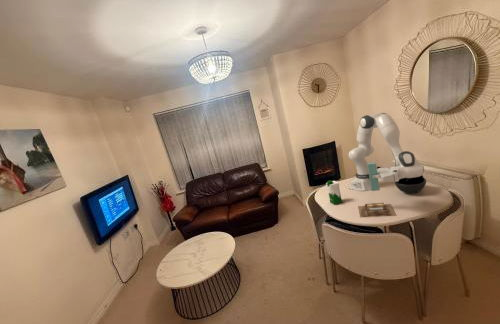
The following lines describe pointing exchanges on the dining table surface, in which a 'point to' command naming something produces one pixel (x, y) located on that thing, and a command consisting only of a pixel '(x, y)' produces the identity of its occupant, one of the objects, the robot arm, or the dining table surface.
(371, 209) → the grey offcut
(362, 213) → the offcut rack
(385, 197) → the dining table surface
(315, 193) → the dining table surface
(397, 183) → the coal bowl
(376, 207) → the oak offcut
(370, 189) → the robot arm
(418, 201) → the dining table surface
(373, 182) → the teal slat
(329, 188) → the milk carton
